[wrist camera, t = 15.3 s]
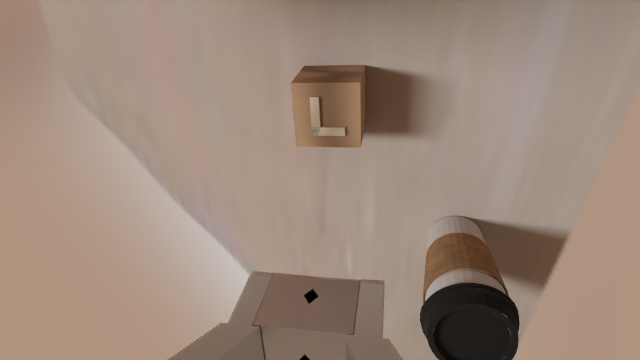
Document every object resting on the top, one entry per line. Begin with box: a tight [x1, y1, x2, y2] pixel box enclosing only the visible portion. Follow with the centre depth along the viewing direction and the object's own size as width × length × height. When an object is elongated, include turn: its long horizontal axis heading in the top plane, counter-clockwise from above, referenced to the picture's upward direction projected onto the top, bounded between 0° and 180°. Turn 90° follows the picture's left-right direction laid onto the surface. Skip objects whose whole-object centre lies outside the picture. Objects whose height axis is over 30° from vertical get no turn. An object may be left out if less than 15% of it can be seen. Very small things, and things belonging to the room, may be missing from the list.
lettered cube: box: [291, 65, 366, 147], centre depth 42 cm, size 6×6×6 cm
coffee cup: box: [420, 216, 519, 360], centre depth 43 cm, size 8×8×15 cm
